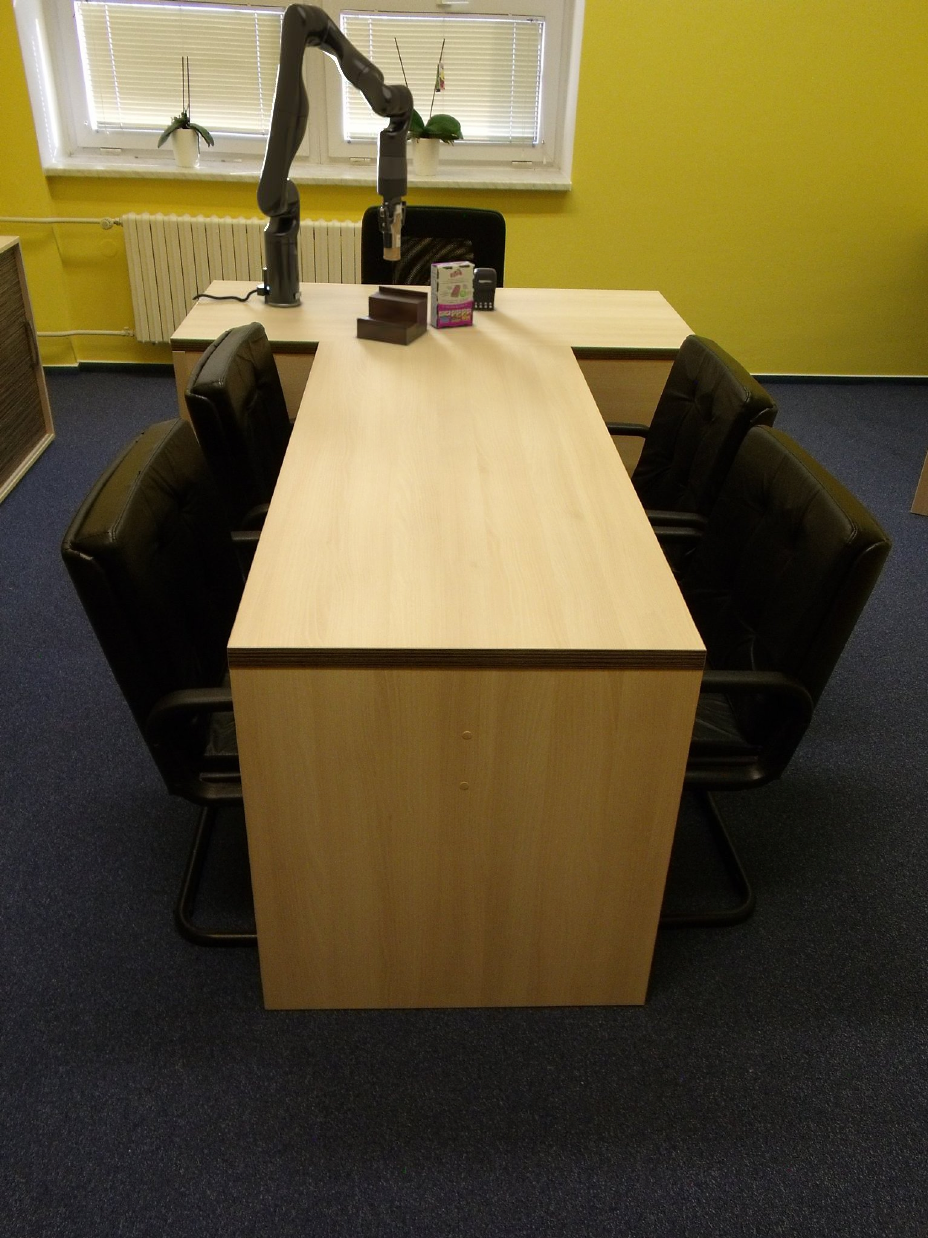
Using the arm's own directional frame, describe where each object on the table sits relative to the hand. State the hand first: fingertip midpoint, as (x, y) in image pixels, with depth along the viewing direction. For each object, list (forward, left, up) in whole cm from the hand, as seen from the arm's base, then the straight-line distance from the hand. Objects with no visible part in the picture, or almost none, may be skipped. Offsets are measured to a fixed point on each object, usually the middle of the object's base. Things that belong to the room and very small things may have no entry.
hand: (391, 245), depth 261 cm
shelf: (+2, -3, -22) cm, 22 cm away
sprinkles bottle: (0, 0, -3) cm, 3 cm away
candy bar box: (+13, +12, -22) cm, 28 cm away
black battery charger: (+16, +31, -22) cm, 42 cm away
